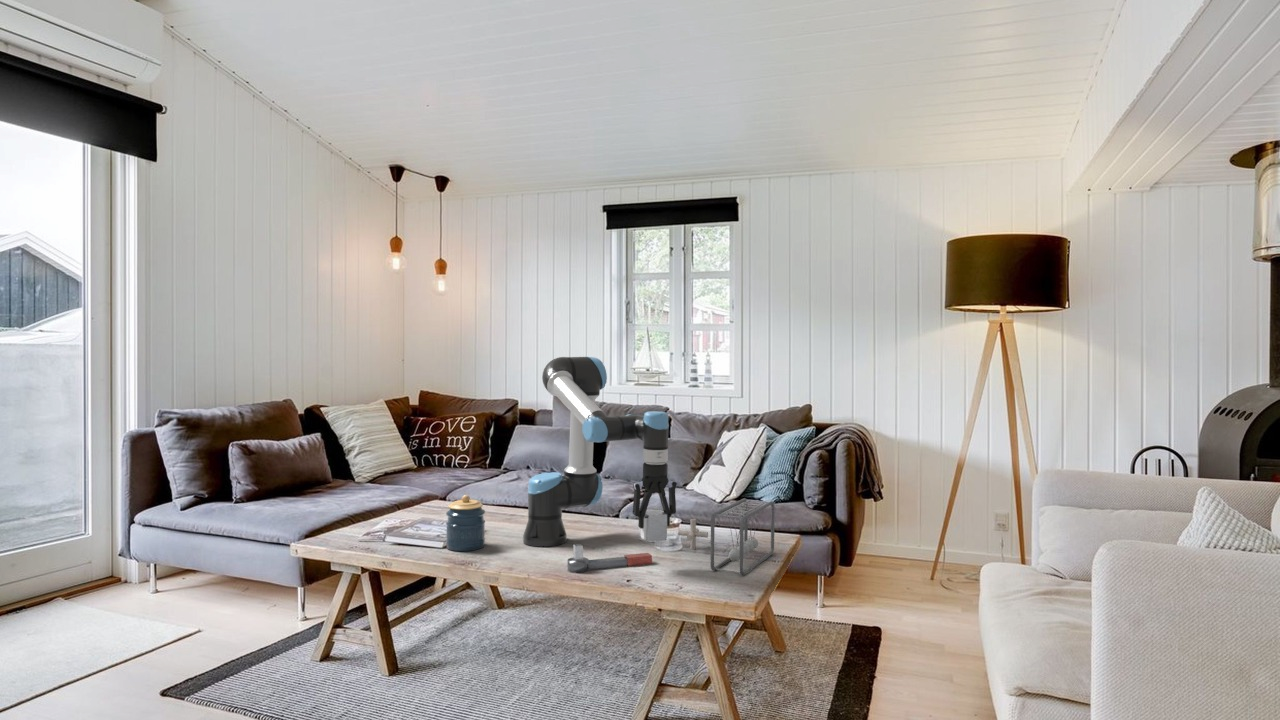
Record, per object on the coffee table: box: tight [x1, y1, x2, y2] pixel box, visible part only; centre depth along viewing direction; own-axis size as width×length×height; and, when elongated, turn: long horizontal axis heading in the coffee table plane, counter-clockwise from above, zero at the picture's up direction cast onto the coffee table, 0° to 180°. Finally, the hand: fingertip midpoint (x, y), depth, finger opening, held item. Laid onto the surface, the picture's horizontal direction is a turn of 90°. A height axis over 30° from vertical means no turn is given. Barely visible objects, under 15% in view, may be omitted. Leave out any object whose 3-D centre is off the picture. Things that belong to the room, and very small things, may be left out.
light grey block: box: [644, 509, 668, 543], centre depth 225 cm, size 6×6×8 cm
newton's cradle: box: [710, 497, 776, 576], centre depth 233 cm, size 30×10×18 cm, turn 151°
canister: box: [445, 494, 486, 552], centre depth 250 cm, size 13×13×18 cm
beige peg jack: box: [677, 518, 709, 550], centre depth 248 cm, size 10×10×10 cm
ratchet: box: [567, 543, 653, 574], centre depth 228 cm, size 6×27×8 cm, turn 110°
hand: (653, 537), depth 225 cm, fingers closed on light grey block, 6 cm apart
